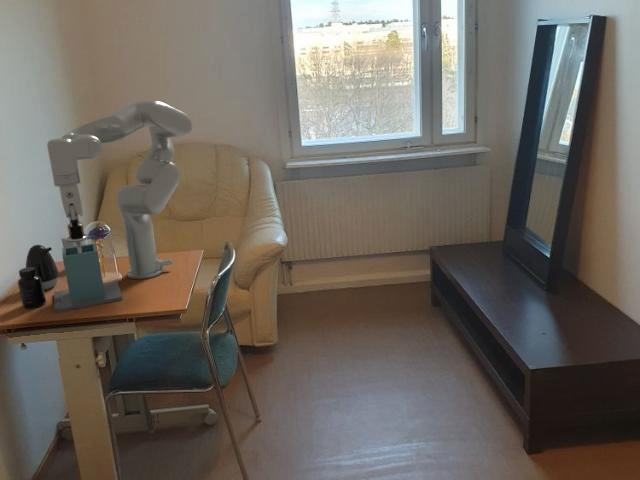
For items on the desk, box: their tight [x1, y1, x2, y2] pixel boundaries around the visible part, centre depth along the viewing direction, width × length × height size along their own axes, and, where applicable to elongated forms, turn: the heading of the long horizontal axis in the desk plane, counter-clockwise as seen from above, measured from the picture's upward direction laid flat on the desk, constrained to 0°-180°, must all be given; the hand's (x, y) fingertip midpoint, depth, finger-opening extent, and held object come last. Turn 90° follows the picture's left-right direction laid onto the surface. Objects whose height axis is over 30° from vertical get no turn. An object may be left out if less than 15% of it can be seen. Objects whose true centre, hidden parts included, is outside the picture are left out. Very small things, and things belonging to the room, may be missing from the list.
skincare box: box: [61, 235, 84, 248], centre depth 236 cm, size 6×4×12 cm
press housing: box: [53, 242, 123, 314], centre depth 206 cm, size 20×17×16 cm
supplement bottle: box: [17, 267, 47, 310], centre depth 203 cm, size 7×7×12 cm
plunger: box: [66, 222, 89, 254], centre depth 204 cm, size 7×7×22 cm
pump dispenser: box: [25, 244, 60, 291], centre depth 218 cm, size 10×10×15 cm
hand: (77, 236), depth 202 cm, fingers closed on plunger, 4 cm apart
